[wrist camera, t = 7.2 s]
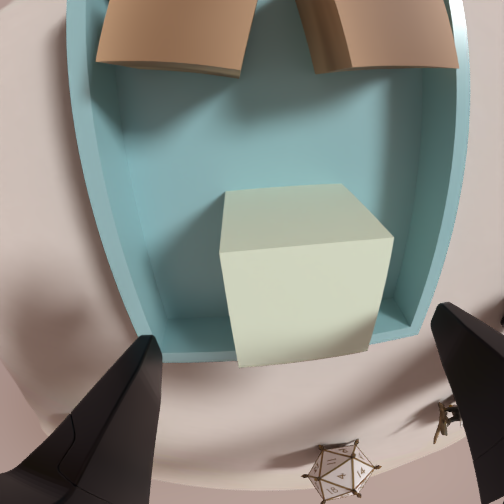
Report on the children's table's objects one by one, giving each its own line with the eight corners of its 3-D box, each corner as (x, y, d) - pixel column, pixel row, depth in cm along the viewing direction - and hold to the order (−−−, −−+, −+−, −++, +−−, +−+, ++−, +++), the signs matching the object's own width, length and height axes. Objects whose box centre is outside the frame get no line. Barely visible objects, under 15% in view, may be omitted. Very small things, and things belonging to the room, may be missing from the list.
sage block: (341, 183, 12) (393, 237, 8) (335, 277, 15) (367, 351, 10) (225, 191, 12) (219, 252, 8) (237, 287, 15) (238, 367, 10)
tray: (418, -18, 7) (454, -32, 4) (397, 300, 17) (417, 334, 14) (101, -17, 7) (70, -36, 4) (160, 322, 16) (149, 362, 14)
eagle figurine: (422, 429, 29) (471, 419, 27) (441, 456, 21) (494, 440, 20) (435, 380, 29) (485, 372, 28) (460, 402, 22) (512, 388, 20)
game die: (328, 417, 31) (361, 454, 22) (369, 441, 32) (405, 474, 22) (282, 465, 30) (300, 511, 20) (326, 485, 30) (351, 525, 20)
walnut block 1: (260, -8, 8) (270, -50, 4) (239, 79, 10) (239, 70, 6) (160, -16, 7) (129, -55, 4) (139, 69, 9) (95, 61, 6)
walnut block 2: (379, -12, 7) (429, -37, 4) (401, 68, 9) (459, 68, 6) (291, -12, 8) (315, -52, 4) (315, 74, 10) (352, 67, 6)
